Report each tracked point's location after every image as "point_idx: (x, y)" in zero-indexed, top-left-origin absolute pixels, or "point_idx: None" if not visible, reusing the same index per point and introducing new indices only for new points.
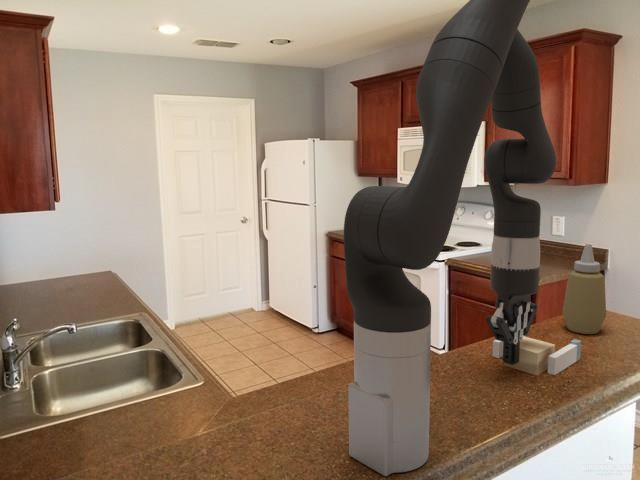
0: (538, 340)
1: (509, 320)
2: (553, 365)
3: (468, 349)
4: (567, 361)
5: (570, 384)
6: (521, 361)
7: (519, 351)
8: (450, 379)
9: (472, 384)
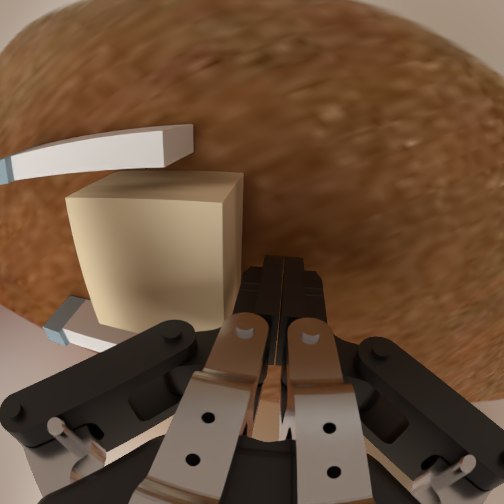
0: (83, 266)
1: (391, 475)
2: (179, 134)
3: None
4: (86, 136)
5: (232, 47)
6: (234, 251)
7: (260, 281)
8: (428, 341)
9: (438, 296)
